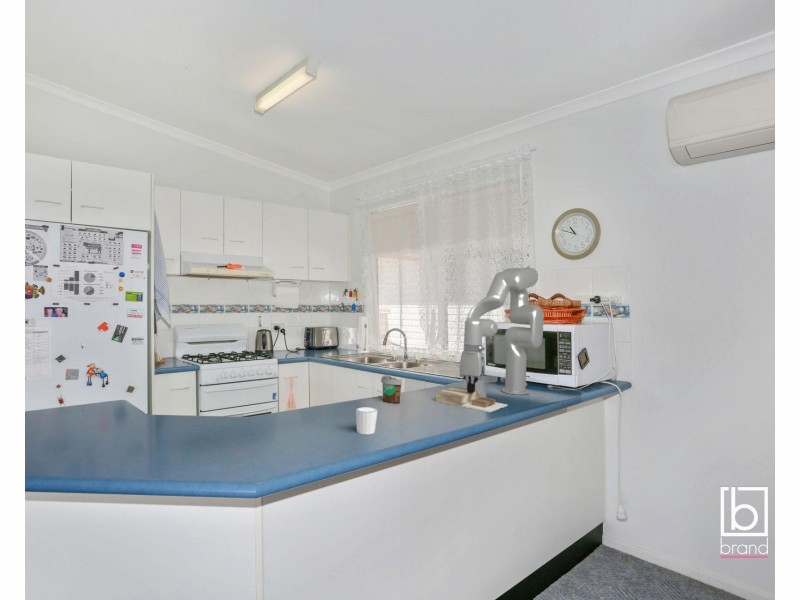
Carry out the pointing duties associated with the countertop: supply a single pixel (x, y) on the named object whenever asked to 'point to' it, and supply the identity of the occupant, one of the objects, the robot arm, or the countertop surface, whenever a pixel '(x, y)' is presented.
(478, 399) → the walnut tile
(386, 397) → the food container
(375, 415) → the white fluted cup
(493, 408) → the white folded cloth
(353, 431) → the countertop surface
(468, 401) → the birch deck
